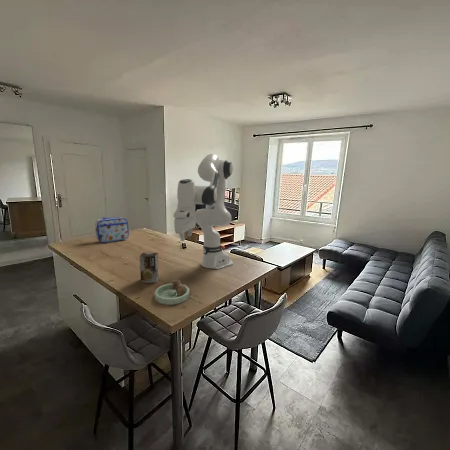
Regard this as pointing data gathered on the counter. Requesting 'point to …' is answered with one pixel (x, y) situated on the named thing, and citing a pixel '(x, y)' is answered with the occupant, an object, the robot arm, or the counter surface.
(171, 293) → the tray
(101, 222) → the lunch box
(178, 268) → the counter surface
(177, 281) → the bead
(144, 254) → the coffee box
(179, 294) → the brown short cylinder
